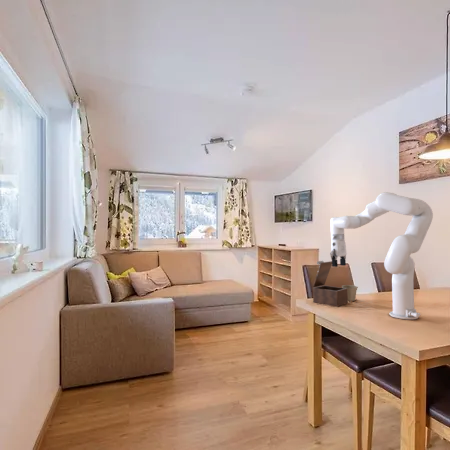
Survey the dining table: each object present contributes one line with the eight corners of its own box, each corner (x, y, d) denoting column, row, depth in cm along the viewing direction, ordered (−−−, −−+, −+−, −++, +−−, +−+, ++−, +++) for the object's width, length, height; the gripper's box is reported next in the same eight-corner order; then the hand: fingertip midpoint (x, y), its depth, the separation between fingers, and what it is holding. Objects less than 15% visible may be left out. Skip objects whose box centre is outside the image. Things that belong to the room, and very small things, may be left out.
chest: (347, 303, 183) (347, 288, 184) (337, 306, 175) (336, 291, 175) (324, 299, 195) (323, 285, 196) (313, 302, 187) (312, 287, 187)
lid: (332, 261, 191) (325, 258, 195) (321, 263, 183) (314, 259, 186) (324, 284, 195) (317, 280, 199) (313, 287, 187) (306, 283, 191)
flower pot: (360, 301, 187) (360, 287, 187) (345, 301, 187) (345, 287, 187) (354, 298, 196) (354, 285, 196) (339, 298, 196) (339, 285, 197)
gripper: (336, 237, 174) (337, 267, 173) (350, 237, 185) (351, 265, 184) (324, 237, 179) (325, 266, 178) (339, 237, 191) (340, 264, 190)
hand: (339, 266), depth 181 cm, fingers open, 9 cm apart
